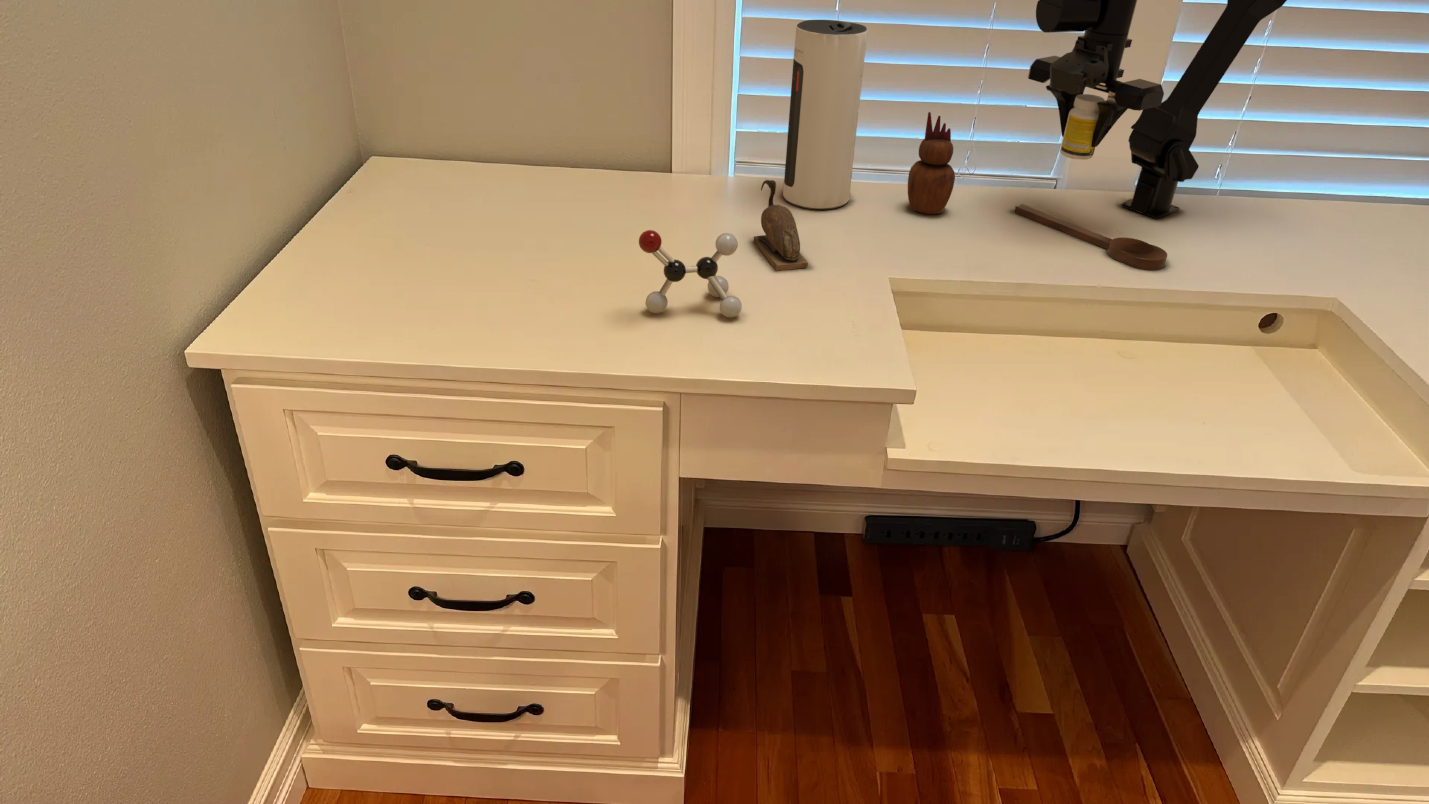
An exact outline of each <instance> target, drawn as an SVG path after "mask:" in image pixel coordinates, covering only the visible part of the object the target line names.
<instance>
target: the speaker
mask: <svg viewBox="0 0 1429 804" xmlns="http://www.w3.org/2000/svg"><path fill="white" fill-rule="evenodd" d="M868 30H869V29H868V27H867V26H865V25H863V24H861V23H856V22H852V21H846V20H845V21H844V20H837V19H807V20H803V21H800V22H798V23H796V25H795V35H794V36H795V37H794V49H793V58H792V59H793V61H792V75H791V88H790V98H789V99H790V101H789V114H788V127H787V140H786V152H785V153H786V154H785V166H784V178H783V190H782V191H783V192H782V196H783V198H784V200H785V201H786V202H787V203H789V204H791V205H794V206H797V207H800V208H804V209H808V210H809V209H810V210H834V209H837V208H838V209H839V208H840V207H843V206H845V205H847V203H848V202H849V200H850V198H851V189H852V188H851V187H852V179H853V168H854V160H855V159H854V158H855V148H856V141H857V140H856V139H857V129H858V121H859V113H860V112H859V111H860V103H861V93H862V85H863V78H864V77H863V76H864V66H865V56H866V50H867V49H866V48H867V39H868Z"/></svg>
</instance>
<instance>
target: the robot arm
mask: <svg viewBox="0 0 1429 804" xmlns="http://www.w3.org/2000/svg"><path fill="white" fill-rule="evenodd" d="M1287 1H1288V0H1227V2H1226V6H1225V9H1224V10H1223V12H1222V13H1221V14H1220V16H1219V18H1218V19H1217V20H1216V22H1215V24H1214V26H1213V27H1212V29H1211V30H1210V32H1209V33H1208V35H1207V37H1206V38H1205V40H1204V41H1203V43H1202V44H1201V46H1200V47H1199V49H1198V50H1197V52H1196V54H1195V55H1194V57H1193V58H1192V59H1191V62H1190V63H1189V65H1188V66H1187V67H1186V69H1185V70H1184V72H1183V74H1182V75H1181V77H1180V78H1179V80H1178V81H1177V83H1176V85H1175V87H1174V88H1173V90H1172V91H1171V92H1170V94H1169V96H1168V97H1167V98H1166V99H1165V100H1164V101H1163V99H1164V95H1165V92H1164V89H1163V85H1162V84H1160V83H1157V82H1154V81H1150V80H1146V79H1143V78H1137V79H1133V80H1132V79H1131V80H1127V81H1120V80H1118V79H1120V78H1123V76H1124V73H1125V69H1123V68H1121V65H1122V60H1123V57H1124V53H1125V49H1127V48H1131V46H1132V42H1133V39H1131V38H1129V33H1130V29H1131V26H1132V22H1133V18H1134V15H1135V10H1136V7H1137V4H1138V3H1137V2H1138V0H1037V1H1036V2H1037V3H1036V7H1035V18H1036V24H1037V27H1038V28H1039V30H1040V31H1041V32H1043V33H1048V34H1049V33H1074V32H1075V33H1077V32H1084V33H1083V35H1078V36H1077V39H1076V40H1075V42H1074V47H1073V48H1072V50H1071V51H1070V52H1066V53H1065V54H1063V55H1062V56H1058V55H1051V56H1045V57H1040V58H1036V59H1034V60H1033V61H1032V63H1031V65H1030V66H1029V70H1028V73H1027V74H1028V75H1027V79H1028V80H1031V81H1035V82H1037V83H1041V84H1045V83H1047V82H1048V81H1049V84H1048V85H1046V86H1045V89H1046V91H1049V92H1050V93H1051V94H1052V95H1053V97H1054V98H1055V100H1056V104H1057V108H1058V115H1059V122H1060V123H1059V125H1060V131H1061V137H1062V138H1063V136H1064V132H1065V128H1066V124H1067V119H1068V115H1069V112H1070V110H1071V109H1073V108H1075V107H1074V102H1075V98H1076V96H1077V95H1080V94H1085V89H1086V88H1089V89H1092V90H1095V91H1099V92H1102V93H1106V94H1107V98H1106V99H1104V100H1105V101H1101V102H1098V103H1097V104H1098V108H1099V116H1098V120H1097V123H1096V127H1095V130H1094V134H1093V138H1092V145H1091V146H1092V147H1095V148H1097V147H1098V146H1099V145H1100V144H1101V142H1102V141H1103V140H1104V139H1105V137H1106V136H1107V134H1108V133H1109V132H1110V130H1111V129H1112V128H1113V126H1114V125H1115V124H1116V123H1117V122H1118V120H1119V119H1120V118H1121V117H1122V116H1123V115H1124V114H1125V113H1126V112H1127V111H1128V110H1131V111H1140V112H1141V113H1140V115H1139V117H1138V119H1136V121H1135V122H1134V123H1133V124H1132V125H1131V126H1130V129H1132V130H1131V133H1130V135H1129V137H1128V144H1129V150H1130V157H1131V158H1130V159H1131V163H1132V164H1134V165H1136V166H1138V167H1141V168H1140V172H1139V176H1138V179H1137V182H1136V186H1135V189H1134V192H1133V196H1132V198H1130V199H1128V200H1125V201H1122V202H1121V207H1124V208H1126V209H1129V210H1131V211H1134V212H1136V213H1139V214H1144V215H1146V216H1148V217H1151V218H1154V219H1161V218H1164V217H1167V216H1169V215H1171V214H1174V213H1176V212H1179V211H1180V207H1179V206H1177V205H1175V204H1173V200H1174V197H1175V194H1176V191H1177V188H1178V184H1179V183H1184V182H1185V181H1186V180H1192V179H1193V177H1194V176H1195V174H1196V173H1197V171H1198V169H1199V164H1198V162H1197V161H1196V159H1195V157H1194V155H1193V154H1192V152H1191V150H1190V149H1191V146H1192V145H1193V143H1194V141H1195V139H1196V137H1197V131H1198V130H1197V128H1198V117H1199V114H1200V112H1201V110H1203V108H1204V106H1205V105H1206V103H1207V102H1208V100H1209V98H1210V97H1211V95H1212V94H1213V92H1214V91H1215V89H1216V88H1217V86H1218V85H1219V83H1220V82H1221V80H1222V79H1223V77H1224V76H1225V74H1226V73H1227V71H1228V69H1229V68H1230V66H1231V65H1232V63H1233V62H1234V60H1236V58H1237V56H1238V54H1240V51H1241V50H1242V49H1243V47H1244V45H1245V44H1246V43H1247V41H1248V40H1249V38H1250V36H1251V34H1252V33H1253V32H1254V30H1255V29H1256V27H1257V26H1258V24H1259V23H1260V22H1261V21H1262V20H1264V19H1265V18H1267V17H1268V16H1270V15H1271V14H1272V13H1274V12H1275V11H1277V10H1279V9H1280V8H1282V7H1283V6H1284V4H1285V3H1286V2H1287Z"/></svg>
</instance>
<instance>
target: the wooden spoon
mask: <svg viewBox="0 0 1429 804" xmlns="http://www.w3.org/2000/svg"><path fill="white" fill-rule="evenodd" d="M1013 212H1014V213H1015V214H1017V215H1020V216H1023V217H1024V218H1027V219H1030V220H1032V221H1035V222H1038V223H1040V224H1042V225H1045V226H1047V227H1049V228H1052V229H1054V230H1058V231H1060V232H1063V233H1065V234H1068V235H1070V236H1073V237H1075V238H1077V239H1080V240H1083V241H1084V242H1088V243H1090V244H1092V245H1095V246H1098V247H1100V248H1102V249H1105V250H1106V252H1107V255H1108V256H1109V257H1110V258H1112V259H1113V260H1116V261H1117V262H1121V263H1124V264H1125V265H1128V266H1129V267H1133V268H1136V269H1141V270H1147V271H1155V270H1160V269H1163V268H1164V267H1165V264H1166V261H1167V258H1168V253H1167V251H1166V250H1165V249H1163V248H1161V247H1159V246H1157V245H1155V244H1151V243H1149V242H1147V241H1143V240H1141V239H1138V238H1134V237H1133V238H1132V237H1123V236H1122V237H1115V238H1111V237H1108V236H1106V235H1103V234H1100V233H1097V232H1095V231H1092V230H1090V229H1088V228H1085V227H1082V226H1080V225H1078V224H1075V223H1072V222H1070V221H1067V220H1065V219H1061V218H1059V217H1057V216H1055V215H1051V214H1049V213H1047V212H1044V211H1042V210H1039V209H1036V208H1034V207H1032V206H1029V205H1026V204H1024V203H1021V204H1018V205H1015V206H1014V210H1013Z"/></svg>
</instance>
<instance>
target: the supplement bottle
mask: <svg viewBox="0 0 1429 804" xmlns="http://www.w3.org/2000/svg"><path fill="white" fill-rule="evenodd" d="M1105 100H1106V99H1105V98H1104V97H1102V96H1099V95H1095V94H1089V93H1088V94H1087V93H1083V94H1080V95H1077V96H1076V98H1075V102H1074V107H1075V108H1073V109H1071V110H1070V112H1069V115H1068V119H1067V124H1066V128H1065V132H1064V136H1063V137H1062V142H1061V145H1060V149H1059V152H1060V154H1061V155H1062V156H1063V157H1066V158H1068V159H1072V160H1079V161H1080V160H1084V161H1085V160H1086V161H1087V160H1090V159H1092V158H1093V157H1094V155H1095V149H1096V147H1092V146H1091V145H1092V138H1093V134H1094V130H1095V127H1096V123H1097V120H1098V116H1099V108H1098V104H1097V103H1098V102H1101V101H1105Z"/></svg>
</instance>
